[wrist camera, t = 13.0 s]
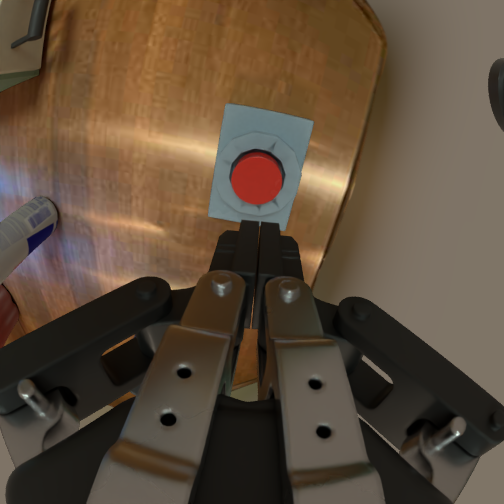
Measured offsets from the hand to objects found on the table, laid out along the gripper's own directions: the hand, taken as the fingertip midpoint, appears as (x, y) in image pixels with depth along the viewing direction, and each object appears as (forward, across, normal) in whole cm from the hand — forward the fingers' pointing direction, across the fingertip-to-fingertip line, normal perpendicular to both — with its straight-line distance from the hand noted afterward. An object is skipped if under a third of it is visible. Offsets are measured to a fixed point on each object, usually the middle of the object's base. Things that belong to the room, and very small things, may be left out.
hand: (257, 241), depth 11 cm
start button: (+11, 0, 0) cm, 11 cm away
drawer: (+13, +29, -17) cm, 36 cm away
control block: (+14, 0, 0) cm, 14 cm away
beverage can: (+14, +26, +6) cm, 30 cm away
